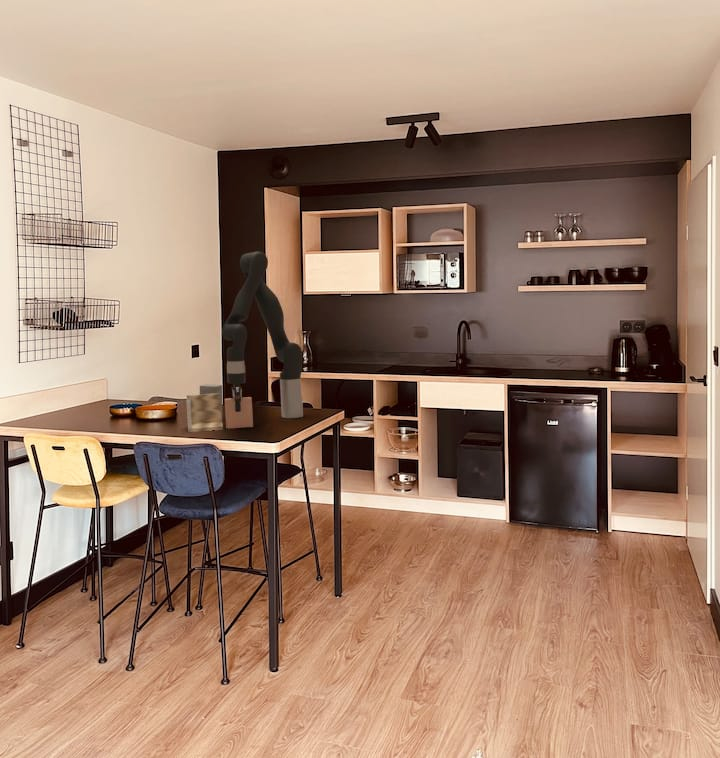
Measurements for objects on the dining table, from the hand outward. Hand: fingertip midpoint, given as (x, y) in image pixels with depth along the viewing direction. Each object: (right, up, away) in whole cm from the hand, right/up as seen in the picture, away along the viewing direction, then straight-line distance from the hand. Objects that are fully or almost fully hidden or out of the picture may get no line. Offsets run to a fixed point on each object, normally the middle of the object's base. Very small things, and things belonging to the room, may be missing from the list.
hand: (237, 410), depth 312 cm
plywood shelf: (-13, -8, -1) cm, 15 cm away
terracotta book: (+1, -7, +1) cm, 7 cm away
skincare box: (-15, -5, +19) cm, 25 cm away
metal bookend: (-19, -7, -3) cm, 21 cm away
